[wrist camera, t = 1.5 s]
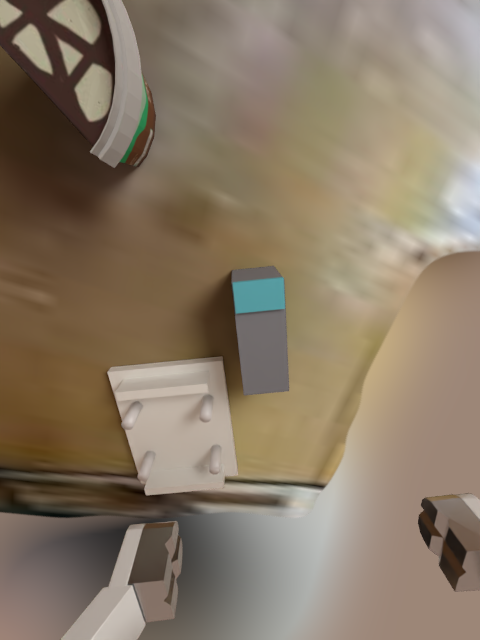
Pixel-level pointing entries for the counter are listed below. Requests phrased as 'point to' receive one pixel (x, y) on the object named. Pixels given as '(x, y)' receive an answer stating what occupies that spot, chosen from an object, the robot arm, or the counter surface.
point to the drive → (261, 329)
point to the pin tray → (177, 423)
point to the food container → (85, 70)
